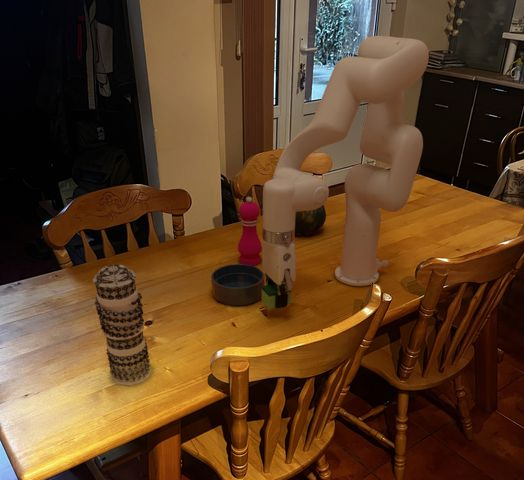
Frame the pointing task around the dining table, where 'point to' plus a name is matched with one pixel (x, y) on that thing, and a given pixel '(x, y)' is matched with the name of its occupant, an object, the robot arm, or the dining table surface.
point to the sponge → (272, 295)
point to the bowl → (237, 284)
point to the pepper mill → (249, 233)
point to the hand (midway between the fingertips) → (276, 301)
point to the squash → (309, 221)
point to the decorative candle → (122, 324)
